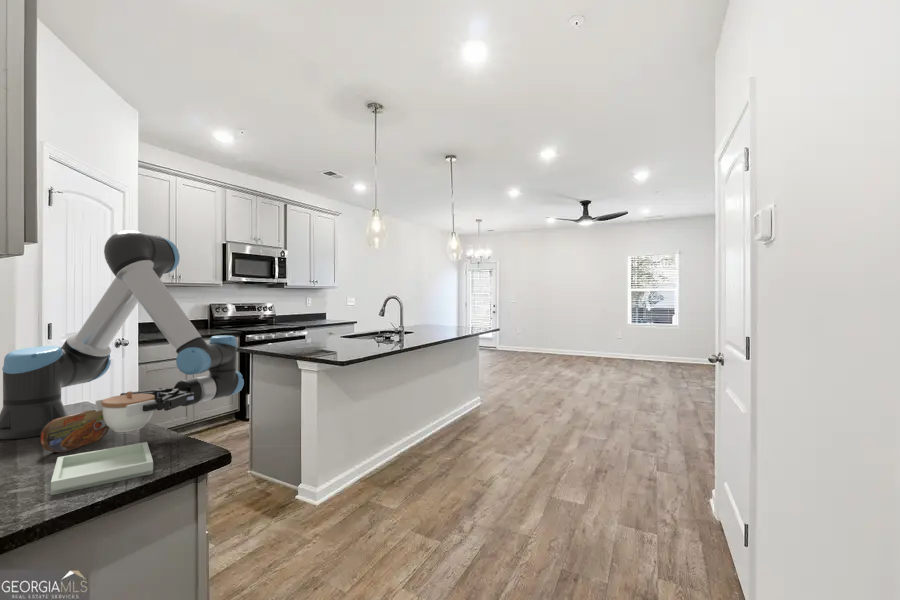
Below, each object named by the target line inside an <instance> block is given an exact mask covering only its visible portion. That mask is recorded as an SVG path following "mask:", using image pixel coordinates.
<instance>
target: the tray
mask: <svg viewBox="0 0 900 600" xmlns="http://www.w3.org/2000/svg"><path fill="white" fill-rule="evenodd" d="M56 458H57V459H56V463H55V465H54V470H53V473H52V477H51V480H50V496H55V495H60V494H64V493H69V492H73V491H77V490H83V489H88V488H91V487H92V488H93V487H97V486H101V485H106V484H112V483H116V482H121V481H125V480H130V479H134V478H139V477H145V476H149V475H153V474H154V460H153V456H152V452H151V450H150V447H149V444H148V441H144V442H138V443H134V444H127V445H121V446H115V447H111V448H110V447H108V448H104V449H99V450H93V451H87V452H80V453H74V454H69V455H63V456H58V457H56Z"/></svg>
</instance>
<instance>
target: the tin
mask: <svg viewBox="0 0 900 600" xmlns="http://www.w3.org/2000/svg"><path fill="white" fill-rule="evenodd" d="M109 430H110V427H108V426H107V425H106V423H105V421H104V419H103V414H102V411H95V409H93V410H91V409H89V410H85V411H81V412H76V413H74V414H71V415H69V414H68V416H65V417H61V418H57V419H54V420H52V421H51V422H49V423H48V424H47V425H46V426H45V427H44V428H43V430H42V432H41V435H40V437H39V439H40V440H39V442H40V445H41V447H42V448H43V449H44V450H46V451H48V452H52V453H66V452H68V451H71V450H74V449H78V448H81V447H84V446H87V445H90V444H93V443H95V442H96V443H97V442H98V441H100V440H102V439H103V438H104V437H105V436H106V434H107V433H108V431H109Z"/></svg>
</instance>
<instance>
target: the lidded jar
mask: <svg viewBox="0 0 900 600" xmlns="http://www.w3.org/2000/svg"><path fill="white" fill-rule="evenodd" d="M132 392H133V391H126V393H127V395H115V396H109V397H106V398H107V399H106V398H103V399H104V400H103V401H102V414H103V419H104V421H105V423H106V425H107V426H108V427H109V429H111V430H112V431H113V432H114V433H129V432H134V431H138V430H141V429H142V428H144V426H145V425H146V424H147V423H148V422H149V421H150V420H151V418H152V416H153V413H154V411H151V412H147V413H143V414H139V415H135V416H130V417H126V405H131V404H136V403H140V402H145V401H150V400H155V396H154V395H152V394H132Z"/></svg>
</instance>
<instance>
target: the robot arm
mask: <svg viewBox="0 0 900 600" xmlns="http://www.w3.org/2000/svg"><path fill="white" fill-rule="evenodd" d="M103 248H104V249H103V252H104V253H103V255H104V259H105V261H106V264H107V265H108V267H109V269H110V271H111V273H112V274H113V275H114V276H115V277H114V279H113V280H112V282H111V283H110V285H109V287H108V288H107V289H106V291H105V293H104V294H103V295H102V296H101V298H100V300H99V301H98V303H97V304H96V306H95V307H94V309H93V311H92V312H91V313H90V315H89V316H88V318H87V319H86V321H85V322H84V324H83V325H82V327H81V328H80V330H79V332H77V334H73V335H70V336H68V337H67V338H66V340H65V341H64V343H63V344H62V346H61V347H60V346H58V345H41V346H40V345H39V346H34V347H33V346H32V347H25V348H24V347H23V348H21V349H16V350H13V351H10V352H8V353H7V354H6V355H5V356H4V359H3V366H2V409H1V411H0V440H16V439H18V440H19V439H26V438H27V439H28V438H33V437H39V436H41V432H42V430H43V428H44V427H45V426H46V425H47V424H48V423H49V422H51V421H52V420H54V419H57V418H61V417H65V416H69V414H68V413H67V411H66V408H65V406H64V404H63V401H62V388H66V387H71V386H75V385H81V384H86V383H89V382H93V381H95V380H97V379H99V378H101V377H102V376H103V375H105V374H106V373H107V371H108V370H109V368H110V366H111V360H110V358H111V352H112V349H111V347H110V344H111V343H112V342H113V340H114V339H115V337H116V336H117V334H118V332H119V331H120V330H121V329H122V326H123V325H124V323H125V322H126V321H127V319H128V318H129V316H130V314H131V313H132V312H133V310H134V309H135V307H136V305H137V304H138V303H140V305H141V306H142V308H143V309H144V310H145V312H146V313H147V314H148V316H149V317H150V318H151V320H152V321H153V322H154V324H155V325H156V327H157V328H158V330H159V331H160V333H161V334H162V335H163V336H164V337H165V339H166V340H167V342H168V343H169V345H170V346H171V347H172V349H173V350H174V351H175V353H176V354H177V356H176V359H175V363H176V367H177V369H178V370H179V371H180V372H181V373H183V374H185V375H189V376H190V375H197V374H202V373H205V372H207V371H208V372H209V373H208V375H203V376H198V377H193V378H188V379H183V380H179V381H177V382H176V383H175V385H174V387H166V388H162V387H158V388H153V389H148V390H147V389H146V390H137V391H132V394H152V395H154V396H155V400H150V401H145V402H140V403H136V404H131V405H126V417H130V416H135V415H139V414H143V413H147V412H151V411H153V412H156V411H162V410H164V411H166V412H167V411H170V410H172V409H176V408H178V407H188V406H192V405H196V404H199V403H200V404H202V405H203V404H205V402H207V401H212V400H216V399H221V398H225V397H230V396H233V395H236V394H238V393H240V391H242V389H243V387H244V384H245V380H244V378H243V377H244V376H243V375H242V373H241V372H240V371H238V370H237V349H238V346H237V337H236V336H234V335H226V334H225V335H213V336H211V337H210V339H209V344H208V343H207V342H206V340H205V339H204V338H203V336H202V335H201V334H200V333H199V331H198V330H197V328H196V327H195V326H194V324H193V323H192V322H191V320H190V319H189V317H188V316H187V314H186V313H185V311H184V310H183V309H182V308H181V306H180V305H179V303H178V302H177V300H176V298H174V296H173V294H171V292H170V291H169V290H168V288H167V286H166V285H165V284H164V283H163V281H162V277H163V276H164V275H166V274H168V273H171V272H173V271H175V270H176V269H177V267H178V265H179V263H180V257H181V256H180V253H179V250H178V247H177V245H175V243H174V242H172V241H171V240H170V239H168V238H166V237H162V236H160V235H154V234H149V233H144V232H140V231H137V230H131V229H130V230H128V229H126V230H122V231H118V232H115V233H114V234H112V235H111V236H110V237H109V238H108V239H107V241H106V242H105V245H104V247H103ZM120 395H127V392H122V393H120ZM107 398H108V397H105V398H102V399H96V400H95V409H94V410H95V411H102V401H103V400H104V399H107Z"/></svg>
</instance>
